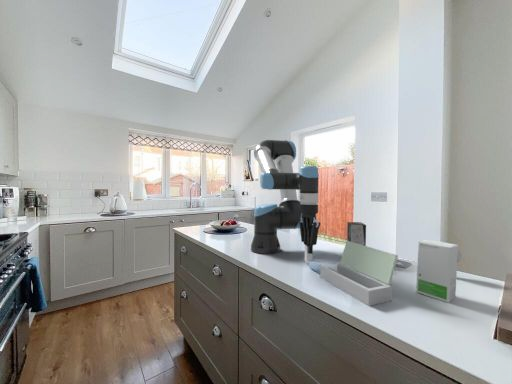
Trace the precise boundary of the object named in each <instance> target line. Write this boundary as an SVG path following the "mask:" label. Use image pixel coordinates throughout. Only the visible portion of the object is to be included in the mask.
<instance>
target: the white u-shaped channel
mask: <svg viewBox="0 0 512 384" xmlns="http://www.w3.org/2000/svg"><path fill="white" fill-rule="evenodd" d="M319 277H320V278H321V279H322V280H324V281H326V282H327V283H329V284H330V285H333V287H336V288H337V289H340V290H341V291H343V292H344V293H346V294H348V295H349V296H350V297H353V298H355V299H356V300H358V301H360V302H362V303H363V304H365V305H366V306H373V305H379V304H383V303H388V302H391V301H392V300H393V299H392V298H393V297H392V295H393V294H392V293H393V286H391V284H390V285H389V284H387V283H384V282H382V281H380V280H378V279H375V278H373V277H371V276H368V275H366V274H364V273H361V272H359V271H357V270H355V269H352V268H350V267H348V266H345V265H343V264H341V263H337V264H336V271H334V269H333V270H332V269H331V268H330V267H329V268H328V267H326V266H325V265H323V266H321V270H320V274H319Z"/></svg>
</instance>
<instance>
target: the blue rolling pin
mask: <svg viewBox="0 0 512 384" xmlns="http://www.w3.org/2000/svg"><path fill="white" fill-rule="evenodd" d="M308 264H309V265H308V267H309V269H311V270H312V271H315V272H316V273H318V274H319V275H320V270H321V266H324V265H322V264H321V263H319V262H317V261H316V260H312V261H309V263H308Z"/></svg>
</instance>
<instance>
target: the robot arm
mask: <svg viewBox="0 0 512 384" xmlns="http://www.w3.org/2000/svg"><path fill="white" fill-rule="evenodd" d="M253 156H254V158H255V161H256V162H258V165H259V168H260V171H261V174H260V177H259V183H260V184H259V185H260V188H261V189H262V190H268V191H269V190H279V193H280V200H281V202H280V203H279V204H277V203H267V204H266V203H265V204H261V205H257V206H255V208H254V211H253V219H254V221H253V222H254V223H253V225H254V228H253V229H254V230H253V232H254V234H253V238H252V241H251V244H250V251H251V252H253V253H256V254H266V255H267V254H268V255H270V254H276V253H279V252H281V244H280V241H279V238H278V230H296V229H297V230H298V229H299V232H300V240H301V242H302V243H303V245H304V262H311V261H313V251H314V246H316V245H317V243H318V236H319V229H320V226H321V222H319V221H318V220H317V214H318V213H319V205H318V203H319V176H320V175H319V167H318V166H313V165H305V166H301V167H300V168H299V172H294V169H293V168H294V167H293V162H294V161H295V159H296V157H297V148H296V145H295V142H293V141H291V140H286V139H285V140H274V139H266V140H261V142H259V143H258V144H257V145H256V146H255V148H254V150H253ZM297 191H299V197H298V195H297ZM298 198H299V199H298Z"/></svg>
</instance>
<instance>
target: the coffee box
mask: <svg viewBox="0 0 512 384" xmlns="http://www.w3.org/2000/svg"><path fill="white" fill-rule="evenodd" d="M346 241H350V242H353V243H357V244H360V245H364V246H367V245H366V243H367V224H365V223H363V222H359V221H352V222H350V221H348V222H346Z"/></svg>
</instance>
